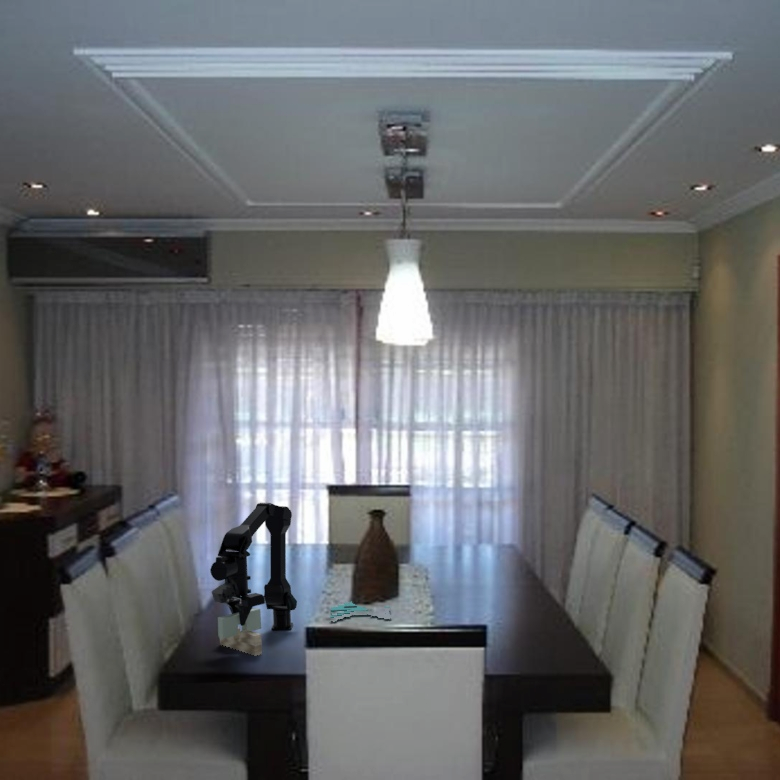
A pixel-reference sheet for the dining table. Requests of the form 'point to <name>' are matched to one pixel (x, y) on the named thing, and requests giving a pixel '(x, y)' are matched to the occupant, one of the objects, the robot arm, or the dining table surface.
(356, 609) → the alien figure
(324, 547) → the dining table surface
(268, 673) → the dining table surface
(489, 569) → the dining table surface
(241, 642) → the birch slotted board
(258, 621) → the pale green slotted board
